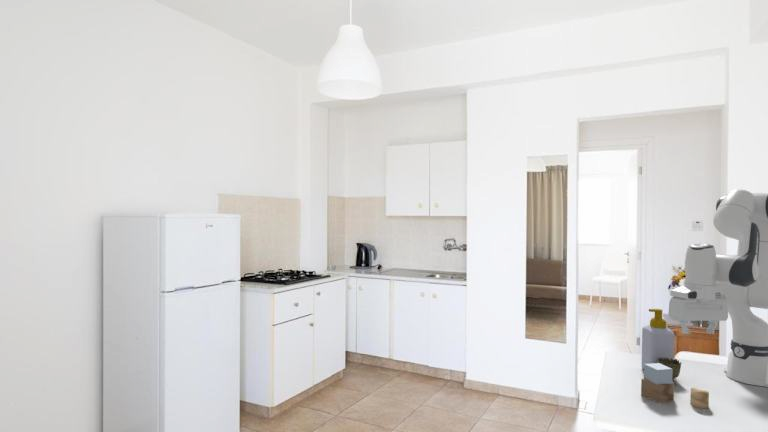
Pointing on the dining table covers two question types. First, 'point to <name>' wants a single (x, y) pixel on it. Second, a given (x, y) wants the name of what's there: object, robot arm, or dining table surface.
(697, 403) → the beech cylinder
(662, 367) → the tower top block
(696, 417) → the dining table surface
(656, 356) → the soap bottle
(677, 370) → the cup
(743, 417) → the dining table surface
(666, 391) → the tower base
